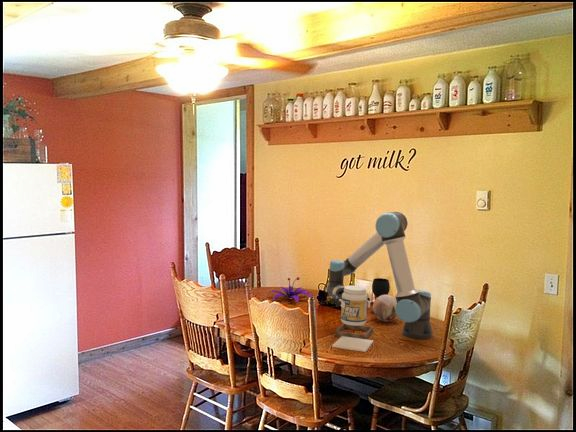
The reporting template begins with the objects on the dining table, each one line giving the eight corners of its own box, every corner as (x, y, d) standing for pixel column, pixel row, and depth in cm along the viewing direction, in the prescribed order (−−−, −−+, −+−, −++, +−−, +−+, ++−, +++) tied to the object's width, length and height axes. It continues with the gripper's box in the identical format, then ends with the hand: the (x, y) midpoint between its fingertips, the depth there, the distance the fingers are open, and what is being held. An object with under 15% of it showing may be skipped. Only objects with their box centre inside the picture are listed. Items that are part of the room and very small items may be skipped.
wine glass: (367, 312, 310) (368, 279, 309) (378, 309, 317) (379, 277, 316) (381, 315, 302) (382, 282, 301) (392, 313, 309) (393, 280, 308)
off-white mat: (373, 342, 254) (373, 340, 254) (365, 351, 239) (365, 350, 239) (341, 337, 260) (341, 336, 260) (332, 347, 245) (332, 345, 245)
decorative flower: (305, 307, 319) (306, 283, 318) (259, 301, 330) (260, 278, 329) (319, 297, 345) (320, 275, 344) (276, 292, 356) (276, 271, 355)
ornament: (397, 326, 282) (398, 299, 281) (370, 323, 287) (371, 296, 286) (401, 319, 296) (402, 293, 295) (374, 316, 301) (375, 291, 300)
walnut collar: (373, 331, 271) (373, 326, 271) (365, 340, 256) (365, 335, 256) (343, 327, 277) (343, 323, 277) (334, 335, 262) (334, 331, 262)
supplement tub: (338, 324, 244) (340, 289, 243) (342, 318, 256) (344, 284, 255) (364, 327, 241) (366, 291, 240) (367, 320, 253) (369, 286, 252)
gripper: (363, 301, 268) (380, 312, 247) (318, 302, 263) (332, 313, 242) (364, 286, 268) (381, 296, 247) (319, 287, 262) (332, 297, 241)
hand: (356, 305), depth 244 cm, fingers closed on supplement tub, 12 cm apart
